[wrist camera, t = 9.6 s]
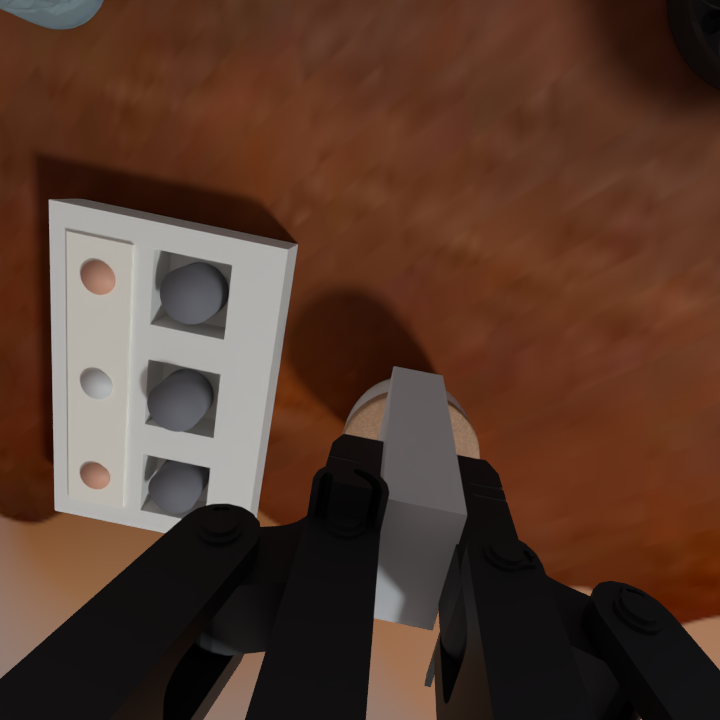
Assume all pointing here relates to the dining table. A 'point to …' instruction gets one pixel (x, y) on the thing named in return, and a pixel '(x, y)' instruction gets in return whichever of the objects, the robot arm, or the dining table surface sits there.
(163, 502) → the button
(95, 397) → the button board
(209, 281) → the button
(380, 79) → the dining table surface
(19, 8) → the grey plant pot
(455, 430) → the lidded jar
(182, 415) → the button
